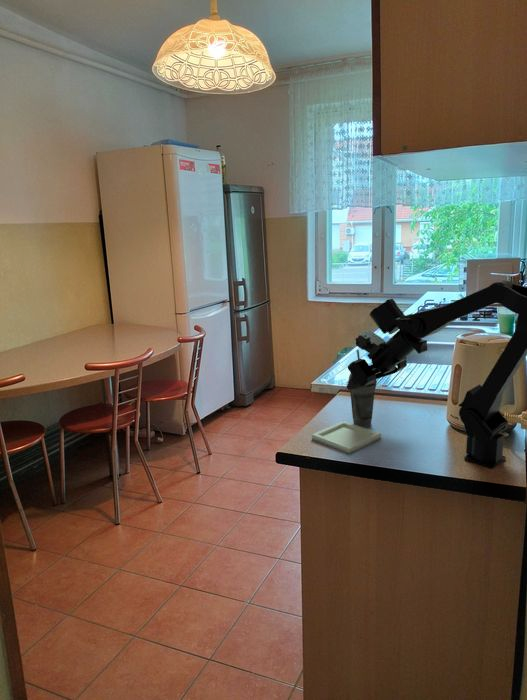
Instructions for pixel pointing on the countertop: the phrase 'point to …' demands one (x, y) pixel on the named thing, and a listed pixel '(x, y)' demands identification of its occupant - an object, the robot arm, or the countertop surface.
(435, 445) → the countertop surface
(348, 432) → the tray
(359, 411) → the beverage cup
